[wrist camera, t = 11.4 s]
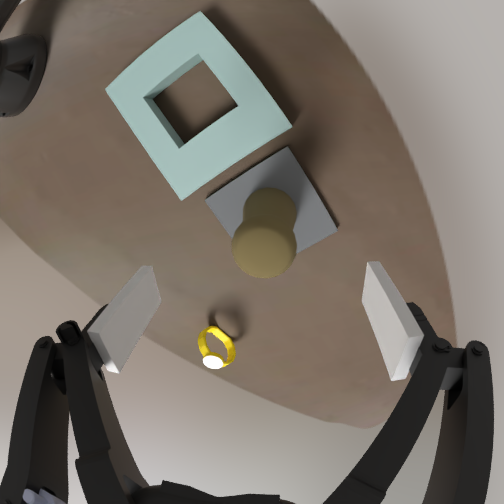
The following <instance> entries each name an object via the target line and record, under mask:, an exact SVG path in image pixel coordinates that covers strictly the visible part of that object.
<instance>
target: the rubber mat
mask: <svg viewBox="0 0 504 504" xmlns="http://www.w3.org/2000/svg"><path fill="white" fill-rule="evenodd" d="M267 187H268V188H277V189H279V190H282V191H284V192H285V193H286V194H288V195H289V196H290V197H291V199H292V200H293V202H294V204H295V207H296V211H297V215H296V222H295V225H294V229H293V232H294V233H295V238H296V242H297V251H296V254H297V253H299V252H300V251H302V250H304V249H306V248H308V247H310V246H311V245H313V244H315V243H317V242H319V241H320V240H322V239H324V238H326V237H328V236H329V235H331V234H333V233H335V232H336V231H338V229H337V228H336V226H335V224H334V222H333V220H332V219H331V217H330V215H329V213H328V212H327V210H326V208H325V206H324V205H323V203H322V201H321V199H320V198H319V196H318V194H317V193H316V191H315V189H314V188H313V186H312V184H311V183H310V181H309V179H308V178H307V176H306V174H305V173H304V171H303V170H302V168H301V166H300V165H299V163H298V162H297V160H296V158H295V157H294V155H293V154H292V152H291V151H290V149H289V148H288V146H287V147H285V148H284V149H282V150H280V151H279V152H277V153H275V154H274V155H272V156H271V157H269V158H267V159H266V160H264V161H263V162H261V163H259V164H258V165H256V166H255V167H253V168H252V169H250V170H248V171H247V172H245V173H244V174H242V175H241V176H239V177H238V178H236V179H235V180H233V181H232V182H230V183H229V184H227V185H226V186H224V187H223V188H221V189H220V190H218V191H217V192H215V193H214V194H212V195H211V196H210V197H208V198H207V199H205V202H206V203H207V204H208V206H209V207H210V209H211V210H212V211H213V213H214V214H215V216H216V217H217V218H218V220H219V221H220V223H221V224H222V225H223V227H224V228H225V230H226V231H227V232H228V234H229V235H230V237H231V238H232V239H233V236H234V233H235V231H236V229H237V228H238V227H239V225H240V224H241V223H242V222H243V207H244V204H245V201H246V200H247V198H248V197H249V196H250V195H251V194H252V193H254V192H255V191H257V190H258V189H263V188H267Z"/></svg>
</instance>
